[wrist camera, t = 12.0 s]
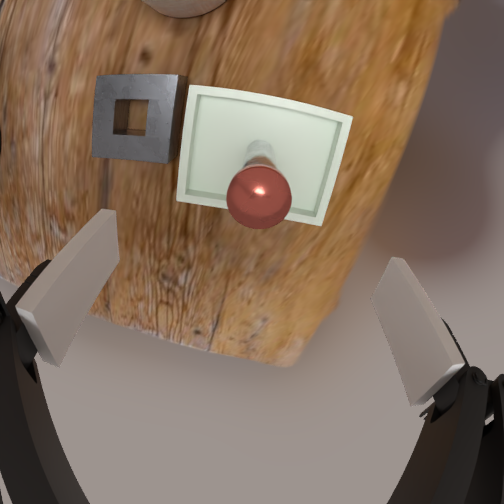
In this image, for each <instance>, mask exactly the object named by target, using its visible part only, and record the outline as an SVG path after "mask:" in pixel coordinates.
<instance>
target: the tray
mask: <svg viewBox="0 0 504 504" xmlns="http://www.w3.org/2000/svg"><path fill="white" fill-rule="evenodd" d="M352 119H353V117H352V116H349V115H345V114H342V113H339V112H335V111H332V110H328V109H325V108H321V107H317V106H314V105H310V104H306V103H302V102H297V101H293V100H289V99H284V98H279V97H274V96H269V95H264V94H258V93H253V92H246V91H240V90H233V89H226V88H218V87H209V86H198V85H190V86H189V92H188V98H187V105H186V112H185V119H184V127H183V135H182V144H181V153H180V163H179V173H178V185H177V197H176V201H180V202H187V203H193V204H200V205H206V206H212V207H219V208H225V209H228V207H227V202H226V195H227V190H228V187H229V184H230V182H231V180H232V178H233V176H234V175H235V174H236V173H237V172H238V171H239V170H241V169H242V167H243V163H244V159H245V155H246V151H247V148H248V146H249V145H250V144H251V143H252V142H254V141H256V140H264V141H267V142H268V143H269V144H271V146H272V147H273V150H274V155H275V159H276V164H277V169H278V170H279V171H280V172H281V173H282V174H283V175H284V176H285V177H286V179H287V181H288V183H289V186H290V190H291V194H292V204H291V208H290V210H289V212H288V214H287V216H286V217H285V218H284V219H287V220H292V221H297V222H302V223H307V224H312V225H317V226H321V225H322V222H323V219H324V216H325V213H326V210H327V207H328V203H329V200H330V197H331V194H332V190H333V187H334V184H335V180H336V177H337V174H338V170H339V167H340V163H341V160H342V156H343V152H344V149H345V145H346V141H347V138H348V134H349V130H350V126H351V123H352Z"/></svg>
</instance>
